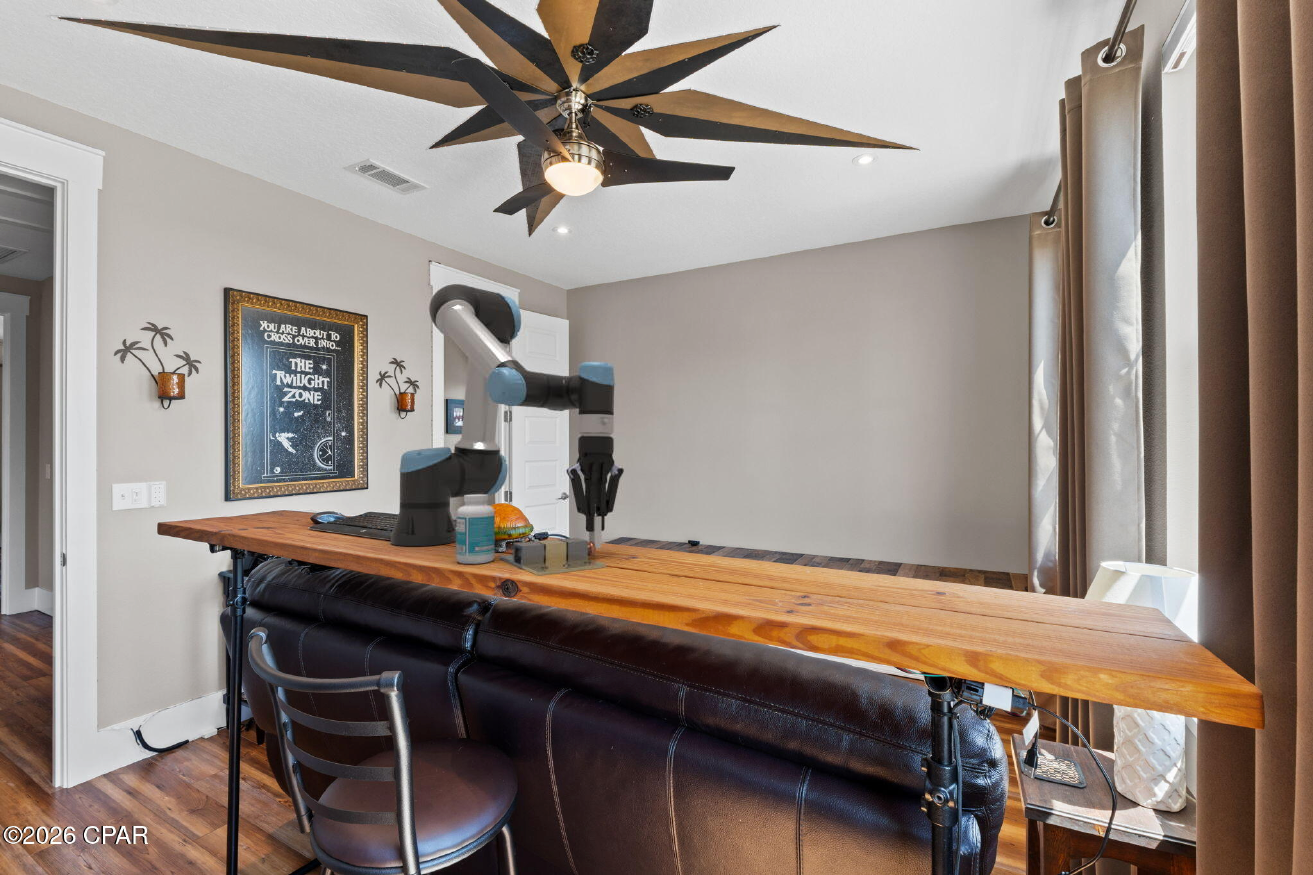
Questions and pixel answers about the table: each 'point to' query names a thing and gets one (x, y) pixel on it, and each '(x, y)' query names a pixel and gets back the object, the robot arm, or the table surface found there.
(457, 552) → the pill bottle
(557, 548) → the three blocks on plate
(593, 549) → the hinge pin
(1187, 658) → the table surface
